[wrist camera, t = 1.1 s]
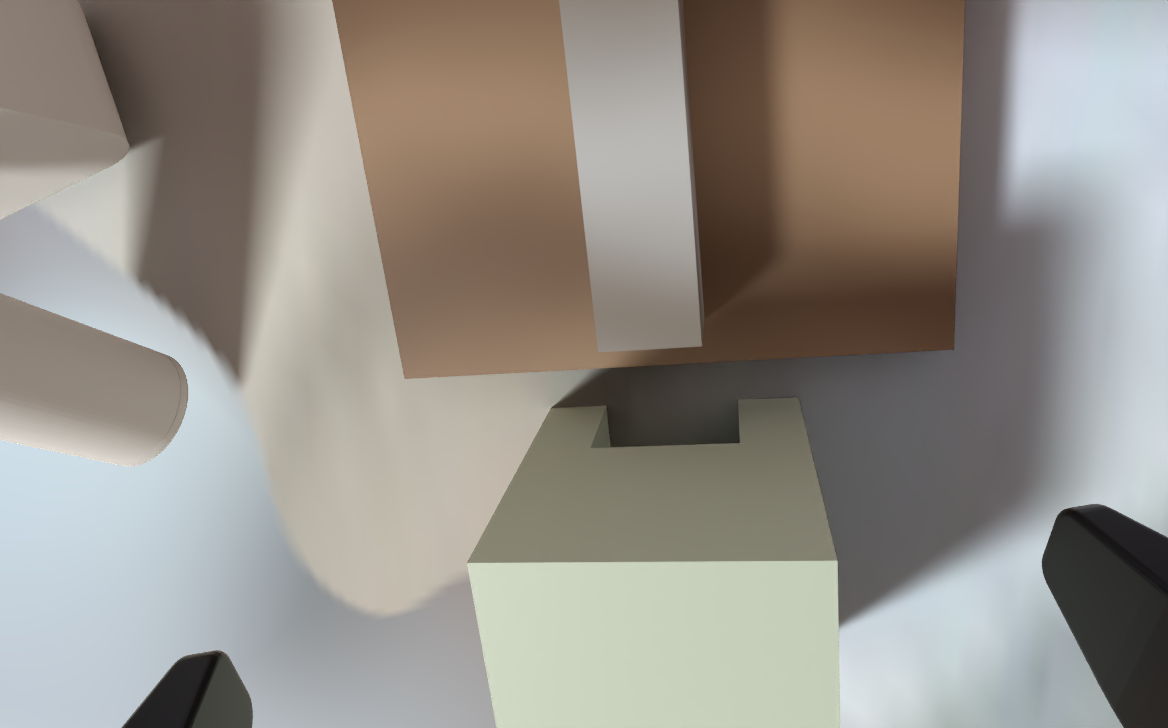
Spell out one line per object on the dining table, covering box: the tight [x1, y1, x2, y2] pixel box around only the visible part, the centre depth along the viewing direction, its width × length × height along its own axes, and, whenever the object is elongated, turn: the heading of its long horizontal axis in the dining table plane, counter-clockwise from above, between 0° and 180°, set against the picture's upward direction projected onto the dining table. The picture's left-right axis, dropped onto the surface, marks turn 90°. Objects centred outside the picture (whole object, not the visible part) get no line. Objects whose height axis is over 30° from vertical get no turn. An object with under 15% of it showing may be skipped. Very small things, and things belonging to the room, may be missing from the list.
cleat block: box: [467, 397, 840, 728], centre depth 17 cm, size 7×6×7 cm
